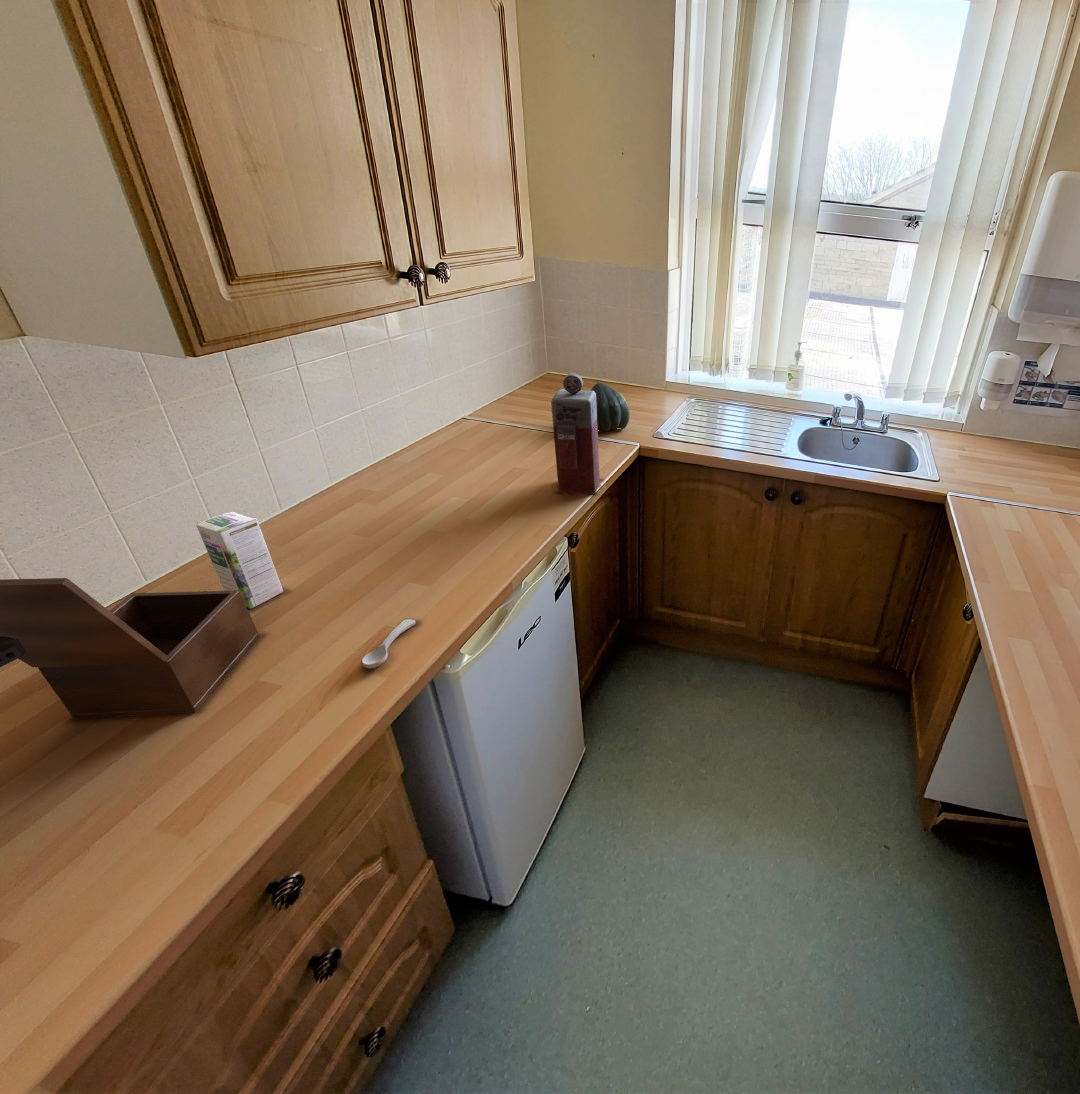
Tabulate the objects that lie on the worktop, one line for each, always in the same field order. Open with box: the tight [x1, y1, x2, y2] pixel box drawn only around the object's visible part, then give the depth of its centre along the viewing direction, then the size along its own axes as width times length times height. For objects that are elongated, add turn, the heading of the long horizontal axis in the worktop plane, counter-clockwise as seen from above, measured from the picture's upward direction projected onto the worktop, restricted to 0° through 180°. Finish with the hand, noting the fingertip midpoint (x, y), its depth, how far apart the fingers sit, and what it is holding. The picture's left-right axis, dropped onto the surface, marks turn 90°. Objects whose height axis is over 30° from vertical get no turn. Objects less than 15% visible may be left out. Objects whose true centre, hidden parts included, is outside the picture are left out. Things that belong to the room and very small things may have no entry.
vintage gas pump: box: [550, 372, 601, 495], centre depth 136 cm, size 9×11×28 cm
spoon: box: [361, 618, 416, 669], centre depth 88 cm, size 3×12×2 cm, turn 178°
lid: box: [0, 577, 167, 668], centre depth 63 cm, size 16×14×1 cm
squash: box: [589, 381, 631, 433], centre depth 180 cm, size 14×15×15 cm
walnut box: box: [37, 590, 260, 720], centre depth 78 cm, size 16×14×9 cm
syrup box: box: [195, 511, 284, 609], centre depth 93 cm, size 6×6×14 cm
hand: (15, 643), depth 59 cm, fingers closed
